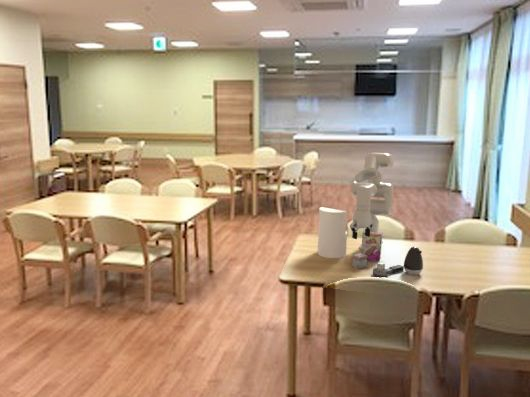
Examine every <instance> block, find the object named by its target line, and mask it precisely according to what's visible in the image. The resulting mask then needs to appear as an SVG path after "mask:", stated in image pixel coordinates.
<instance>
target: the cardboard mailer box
mask: <svg viewBox="0 0 530 397" xmlns="http://www.w3.org/2000/svg"><path fill="white" fill-rule="evenodd" d="M367 264H368V260H367V255H364V254H362V253H361V252H358V253H354V254H353V253H352V264H351V267H353V268H356V269H358V270H361V269H366V268H367Z"/></svg>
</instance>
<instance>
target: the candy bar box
mask: <svg viewBox="0 0 530 397" xmlns="http://www.w3.org/2000/svg"><path fill="white" fill-rule="evenodd" d="M382 242H383V232H378V233H377V232H370V237H368V236H365V231H364V232H363V231H362V238H361V244H362V249H361V252H360V253H362V254H364V255H367V261H372V262H381V257H382V246H383V245H382V244H383V243H382Z"/></svg>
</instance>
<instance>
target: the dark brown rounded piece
mask: <svg viewBox="0 0 530 397" xmlns="http://www.w3.org/2000/svg"><path fill="white" fill-rule="evenodd" d="M422 253H423V251H422V250H420V248H419V247H417V246H412V247H410V248H409V250H407V253H406V256H405V258H404V261H403V266H404V271H405V272H406V274H408V275H411V276H417V275H420V274H421V273H422V271H423V269H424V260H423V254H422Z"/></svg>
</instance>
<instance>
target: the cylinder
mask: <svg viewBox="0 0 530 397" xmlns="http://www.w3.org/2000/svg"><path fill="white" fill-rule="evenodd" d="M318 210H319V211H318V230H317V231H318V234H317V237H318V238H317V240H318V241H317V254H318V255H319V256H320V257H323V258H327V259H340V258H341V259H342V258H344V257H346V255H347V247H348V246H347V242H348V231H347V213H348V211H347V210H343V209H342V210H341V209H335V208H330V207H324V206H321V207H319V209H318Z"/></svg>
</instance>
